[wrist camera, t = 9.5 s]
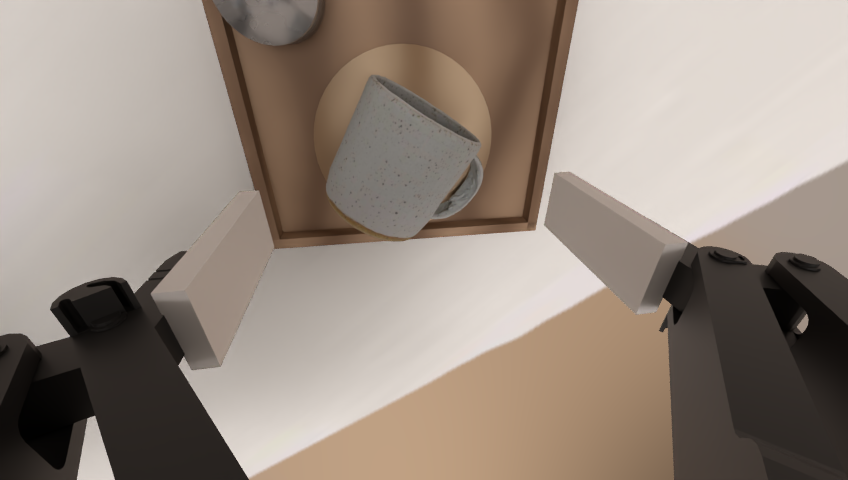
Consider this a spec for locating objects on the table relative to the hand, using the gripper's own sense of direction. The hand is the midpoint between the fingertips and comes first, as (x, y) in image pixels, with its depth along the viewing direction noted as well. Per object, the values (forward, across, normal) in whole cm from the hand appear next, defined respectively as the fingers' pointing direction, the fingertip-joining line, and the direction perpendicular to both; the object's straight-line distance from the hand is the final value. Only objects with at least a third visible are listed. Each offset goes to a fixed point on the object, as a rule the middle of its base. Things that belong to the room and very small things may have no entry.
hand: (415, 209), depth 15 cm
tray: (+12, +1, +3) cm, 12 cm away
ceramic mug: (+11, +1, 0) cm, 11 cm away
